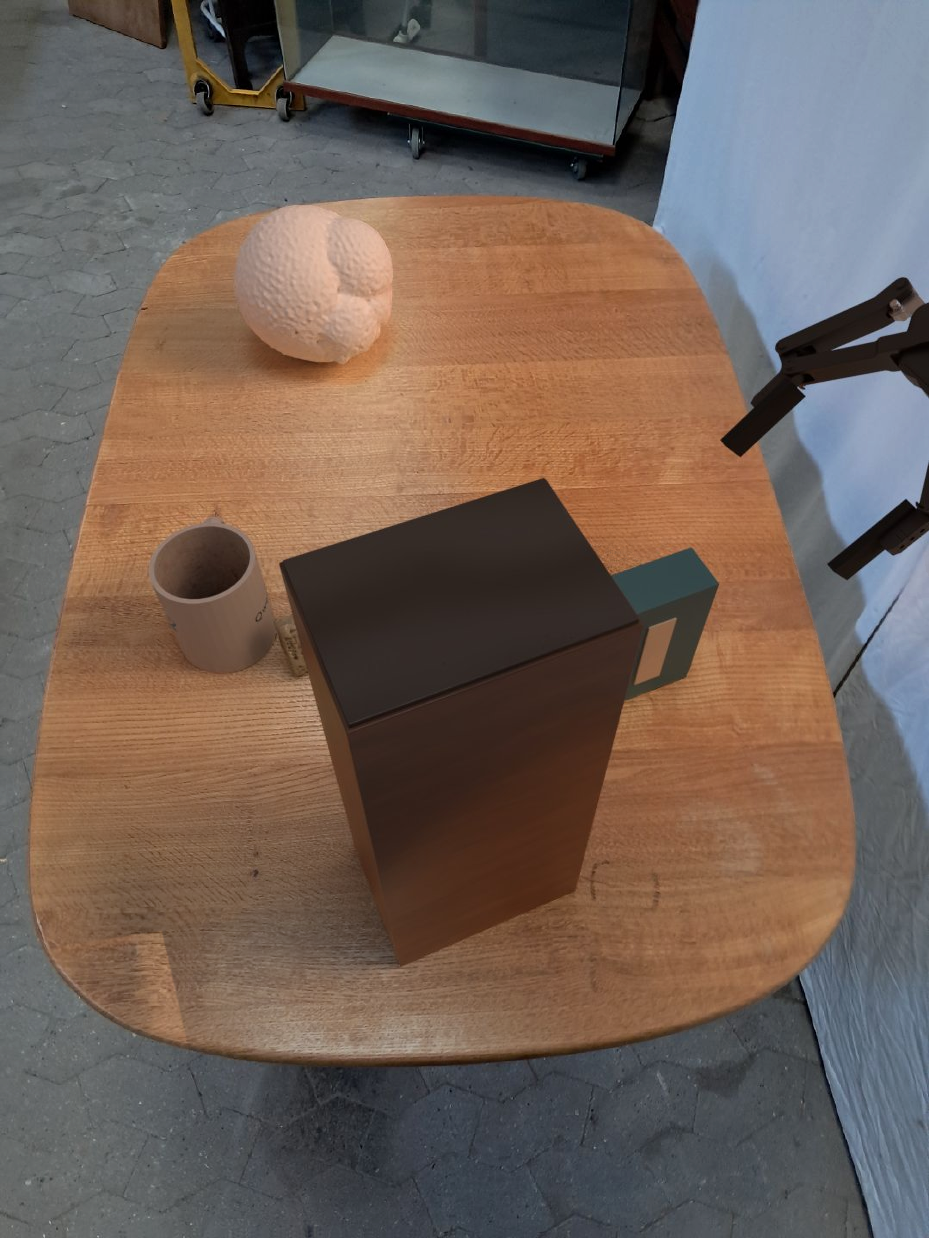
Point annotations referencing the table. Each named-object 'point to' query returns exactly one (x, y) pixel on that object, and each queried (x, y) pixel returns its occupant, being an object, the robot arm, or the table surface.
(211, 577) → the mug
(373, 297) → the decorative orb
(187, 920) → the table surface
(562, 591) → the pedestal
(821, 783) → the table surface
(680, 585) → the teal box
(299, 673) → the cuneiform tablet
